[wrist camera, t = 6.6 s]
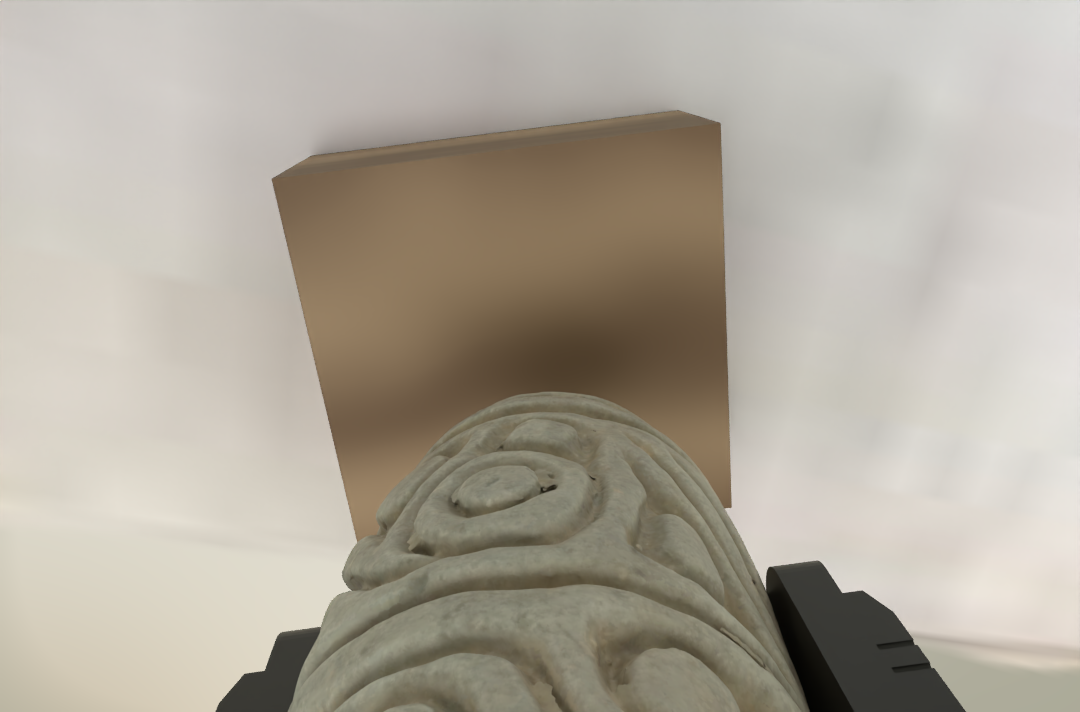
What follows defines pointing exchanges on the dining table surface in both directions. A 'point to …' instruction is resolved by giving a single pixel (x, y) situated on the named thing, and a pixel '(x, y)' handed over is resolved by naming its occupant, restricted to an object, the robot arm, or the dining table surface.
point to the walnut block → (513, 285)
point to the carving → (551, 580)
